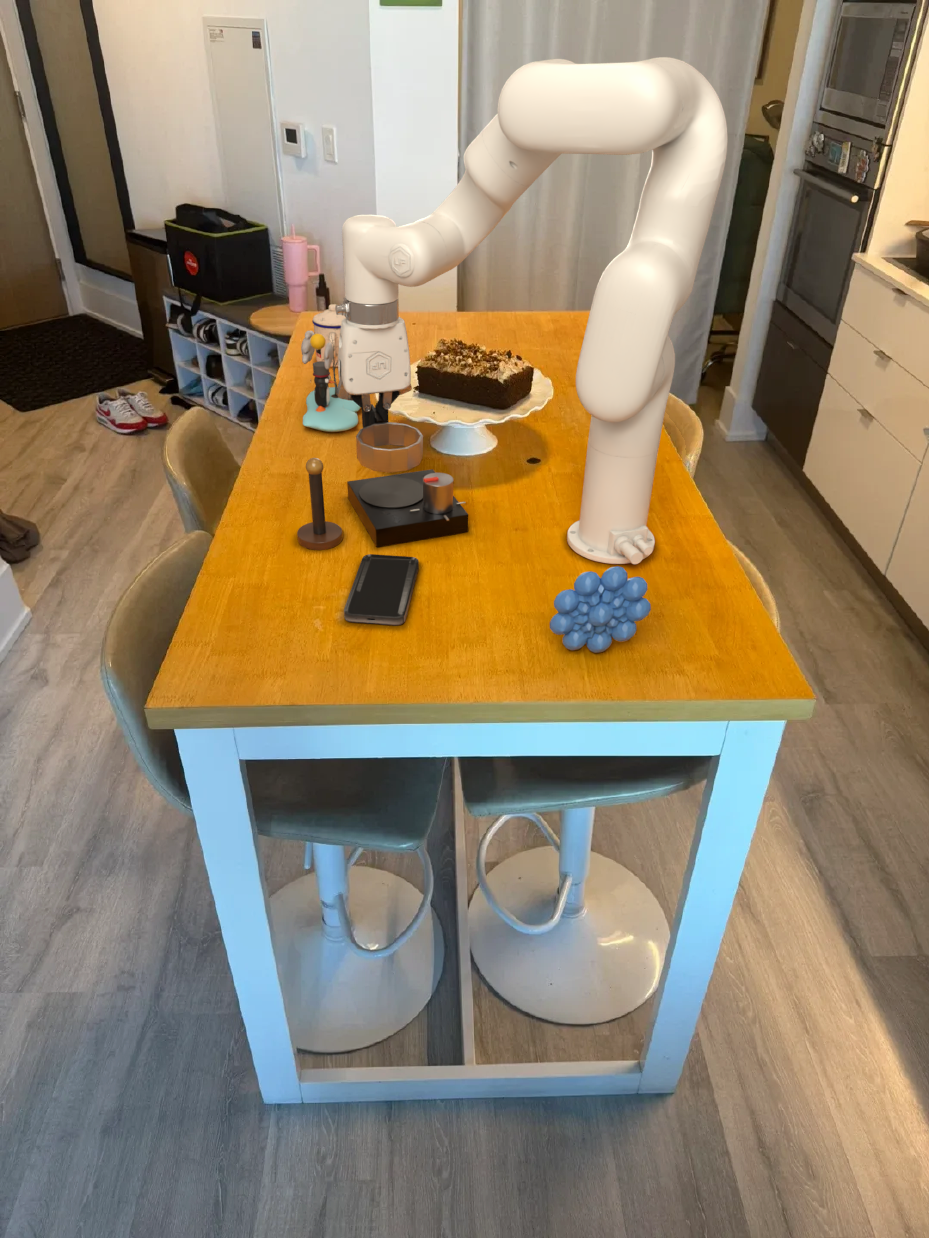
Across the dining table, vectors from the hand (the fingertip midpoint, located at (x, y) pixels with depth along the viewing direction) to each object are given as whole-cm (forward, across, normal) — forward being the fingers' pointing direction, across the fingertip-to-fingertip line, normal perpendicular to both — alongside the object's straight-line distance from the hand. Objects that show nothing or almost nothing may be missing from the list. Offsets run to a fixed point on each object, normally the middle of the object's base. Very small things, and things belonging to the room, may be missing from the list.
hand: (375, 431), depth 139 cm
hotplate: (+10, +2, -10) cm, 14 cm away
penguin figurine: (+10, 0, +32) cm, 33 cm away
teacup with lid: (+10, +8, +60) cm, 61 cm away
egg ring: (+1, 0, -4) cm, 5 cm away
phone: (+10, -8, -30) cm, 32 cm away
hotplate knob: (+7, +5, -14) cm, 17 cm away
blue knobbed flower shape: (+10, +13, -50) cm, 52 cm away
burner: (+7, 0, -8) cm, 10 cm away
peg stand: (+10, -12, -13) cm, 20 cm away
